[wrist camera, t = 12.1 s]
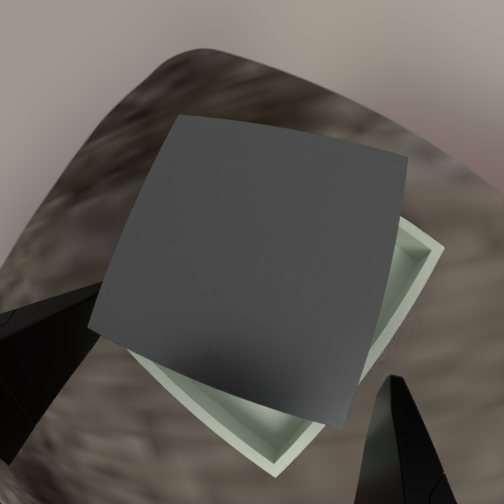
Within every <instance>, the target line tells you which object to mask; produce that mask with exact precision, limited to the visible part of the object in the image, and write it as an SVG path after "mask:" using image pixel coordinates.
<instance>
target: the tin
mask: <svg viewBox="0 0 504 504" xmlns="http://www.w3.org/2000/svg"><path fill="white" fill-rule="evenodd" d="M407 163H408V157H405V156H402V155H399V154H395V153H392V152H388V151H384V150H381V149H377V148H373V147H369V146H365V145H361V144H357V143H353V142H349V141H345V140H341V139H336V138H332V137H327V136H322V135H318V134H313V133H308V132H303V131H297V130H292V129H286V128H281V127H275V126H269V125H263V124H256V123H249V122H242V121H235V120H227V119H218V118H209V117H200V116H189V115H179V116H178V117H177V119H176V121H175V123H174V125H173V126H172V128H171V130H170V132H169V134H168V136H167V138H166V140H165V141H164V143H163V145H162V147H161V149H160V151H159V153H158V155H157V157H156V159H155V161H154V163H153V165H152V167H151V169H150V171H149V173H148V175H147V177H146V179H145V182H144V184H143V186H142V188H141V190H140V192H139V194H138V197H137V199H136V201H135V203H134V206H133V208H132V210H131V212H130V215H129V217H128V219H127V222H126V224H125V226H124V229H123V231H122V233H121V236H120V238H119V241H118V243H117V246H116V248H115V251H114V253H113V256H112V258H111V261H110V264H109V266H108V269H107V272H106V274H105V277H104V280H103V283H102V285H101V288H100V291H99V294H98V297H97V300H96V303H95V306H94V309H93V312H92V315H91V318H90V321H89V324H88V327H87V328H89V329H91V330H93V331H95V332H96V333H98V334H100V335H102V336H104V337H105V338H107V339H109V340H111V341H113V342H115V343H117V344H119V345H121V346H123V347H125V348H126V349H128V350H130V351H132V352H134V353H136V354H138V355H141V356H143V357H145V358H147V359H149V360H151V361H153V362H155V363H157V364H159V365H162V366H164V367H166V368H168V369H170V370H173V371H175V372H177V373H179V374H182V375H184V376H186V377H189V378H191V379H193V380H196V381H198V382H200V383H203V384H205V385H208V386H210V387H213V388H215V389H218V390H220V391H223V392H226V393H228V394H231V395H234V396H236V397H239V398H242V399H245V400H247V401H250V402H253V403H256V404H259V405H262V406H265V407H268V408H271V409H274V410H277V411H280V412H283V413H286V414H289V415H293V416H296V417H299V418H303V419H306V420H310V421H313V422H317V423H321V424H324V425H328V426H332V427H336V428H340V429H342V427H343V424H344V422H345V419H346V417H347V414H348V411H349V409H350V406H351V403H352V401H353V398H354V395H355V392H356V389H357V386H358V384H359V381H360V378H361V375H362V372H363V368H364V365H365V362H366V359H367V356H368V353H369V349H370V346H371V343H372V339H373V336H374V332H375V329H376V325H377V321H378V318H379V314H380V310H381V306H382V302H383V298H384V294H385V290H386V286H387V281H388V277H389V273H390V268H391V263H392V258H393V254H394V249H395V243H396V238H397V233H398V227H399V221H400V215H401V209H402V202H403V195H404V188H405V180H406V172H407Z"/></svg>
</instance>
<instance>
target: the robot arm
mask: <svg viewBox="0 0 504 504" xmlns="http://www.w3.org/2000/svg"><path fill="white" fill-rule="evenodd" d="M102 283H103V282H100V283H96V284H93V285H90V286H87V287H83V288H80V289H77V290H74V291H71V292H68V293H64V294H61V295H58V296H55V297H52V298H49V299H45V300H42V301H39V302H36V303H33V304H30V305H27V306H24V307H21V308H17V309H14V310H11V311H8V312H5V313H2V314H0V459H2V460H3V461H4V462H5V463H6V464H7V465H10V464H11V463H12V461H13V460H14V458H15V457H16V455H17V453H18V452H19V450H20V449H21V447H22V446H23V444H24V443H25V441H26V440H27V438H28V437H29V435H30V434H31V432H32V431H33V429H34V428H35V425H37V423H38V422H39V420H40V419H41V417H42V416H43V414H44V413H45V412H46V410H47V409H48V407H49V406H50V404H51V403H52V402H53V400H54V399H55V397H56V396H57V395H58V393H59V392H60V390H61V389H62V388H63V386H64V385H65V384H66V382H67V381H68V380H69V378H70V377H71V375H72V374H73V373H74V371H75V370H76V369H77V367H78V366H79V365H80V363H81V362H82V361H83V359H84V358H85V357H86V355H87V354H88V353H89V352H90V350H91V349H92V348H93V346H94V345H95V344H96V342H97V341H98V339H99V338H100V336H101V335H100V334H98V333H96V332H95V331H93V330H91V329H89V328H87V327H88V324H89V321H90V318H91V315H92V312H93V309H94V306H95V303H96V300H97V297H98V294H99V291H100V288H101V285H102ZM443 473H444V470H443V468H442V465H441V463H440V460H439V458H438V455H437V453H436V450H435V448H434V445H433V443H432V441H431V438H430V436H429V434H428V431H427V429H426V427H425V424H424V422H423V420H422V417H421V415H420V413H419V411H418V409H417V406H416V404H415V402H414V400H413V398H412V395H411V393H410V391H409V389H408V387H407V385H406V383H405V381H404V379H403V377H401V376H397V375H392V374H390V375H389V376H388V377H387V378H386V380H385V382H384V383H383V385H382V386H381V388H380V390H379V391H378V394H377V396H376V400H375V405H374V409H373V413H372V417H371V422H370V425H369V429H368V433H367V437H366V441H365V446H364V452H363V458H362V464H361V470H360V476H359V481H358V486H357V491H356V496H355V501H354V504H457V502H456V500H455V498H454V495H453V493H452V490H451V488H450V485H449V483H448V480H447V478H446V475H445V474H443ZM0 504H1V503H0Z"/></svg>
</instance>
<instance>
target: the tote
mask: <svg viewBox="0 0 504 504" xmlns="http://www.w3.org/2000/svg"><path fill="white" fill-rule="evenodd" d="M444 248H445V247H443V246H442V245H441V244H439V243H438V242H437V241H435V240H434V239H433V238H431V237H430V236H428V235H427V234H426V233H424V232H423V231H421V230H420V229H419V228H417V227H416V226H414V225H413V224H412V223H410V222H409V221H407V220H406V219H404V218H403V217H401V216H400V221H399V227H398V233H397V238H396V243H395V249H394V254H393V258H392V263H391V268H390V273H389V277H388V281H387V286H386V290H385V294H384V298H383V302H382V306H381V310H380V314H379V318H378V321H377V325H376V329H375V332H374V336H373V339H372V343H371V346H370V349H369V353H368V356H367V359H366V362H365V365H364V368H363V372H362V375H361V378H360V381H359V383H360V382H361V380H362V379H363V378H364V376H365V375H366V374H367V372H368V371H369V370H370V368H371V367H372V366H373V364H374V363H375V361H376V360H377V359H378V357H379V356H380V354H381V353H382V352H383V350H384V349H385V347H386V346H387V344H388V343H389V341H390V340H391V338H392V337H393V335H394V334H395V332H396V331H397V329H398V328H399V326H400V325H401V323H402V321H403V320H404V318H405V317H406V315H407V314H408V312H409V310H410V309H411V307H412V305H413V304H414V302H415V300H416V299H417V297H418V295H419V294H420V292H421V290H422V289H423V287H424V285H425V283H426V282H427V280H428V278H429V276H430V274H431V273H432V271H433V269H434V267H435V265H436V263H437V262H438V260H439V258H440V256H441V254H442V252H443V250H444ZM127 350H128V349H127ZM128 351H129V352H130V353H131V354H132V355H133V356H134V357H135V358H136V360H137V361H138V362H139V363H140V364H141V365H142V366H143V367H144V368H145V369H146V370H147V371H148V372H149V373H150V374H151V375H152V376H153V377H154V378H155V379H156V380H157V381H158V382H159V383H160V384H161V385H162V386H163V387H165V388H166V389H167V390H168V391H169V392H170V393H171V394H172V395H173V396H174V397H175V398H176V399H177V400H178V401H180V402H181V403H182V404H183V405H184V406H185V407H186V408H187V409H188V410H190V411H191V412H192V413H193V414H194V415H195V416H196V417H198V418H199V419H200V420H201V421H202V422H203V423H205V424H206V425H207V426H208V427H209V428H210V429H212V430H213V431H214V432H215V433H216V434H218V435H219V436H220V437H221V438H223V439H224V440H225V441H226V442H228V443H229V444H230V445H231V446H233V447H234V448H235V449H237V450H238V451H239V452H241V453H242V454H243V455H245V456H246V457H247V458H249V459H250V460H251V461H253V462H254V463H255V464H257V465H258V466H259V467H261V468H262V469H264V470H265V471H267V472H268V473H269V474H271V475H272V476H274V477H275V478H276V477H277V476H278V475H279V474H280V473H281V472H282V471H283V470H284V469H285V468H286V467H287V466H288V465H289V464H290V463H291V462H292V461H293V460H294V459H295V458H296V457H297V456H298V455H299V454H300V453H301V452H302V450H303V449H304V448H305V447H306V446H307V445H308V444H309V443H310V442H311V441H312V440H313V439H314V437H315V436H316V435H317V434H318V433H319V432H320V431H321V430H322V428H323V427H324V426H325V425H324V424H321V423H317V422H313V421H310V420H306V419H303V418H299V417H296V416H293V415H289V414H286V413H283V412H280V411H277V410H274V409H271V408H268V407H265V406H262V405H259V404H256V403H253V402H250V401H247V400H245V399H242V398H239V397H236V396H234V395H231V394H228V393H226V392H223V391H220V390H218V389H215V388H213V387H210V386H208V385H205V384H203V383H200V382H198V381H196V380H193V379H191V378H189V377H186V376H184V375H182V374H179V373H177V372H175V371H173V370H170V369H168V368H166V367H164V366H162V365H159V364H157V363H155V362H153V361H151V360H149V359H147V358H145V357H143V356H141V355H138V354H136V353H134V352H132V351H130V350H128Z"/></svg>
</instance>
